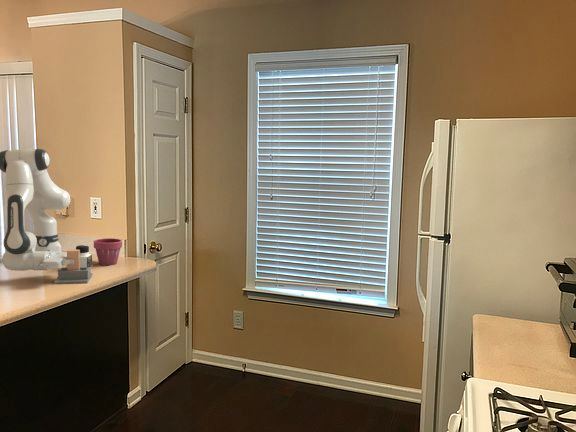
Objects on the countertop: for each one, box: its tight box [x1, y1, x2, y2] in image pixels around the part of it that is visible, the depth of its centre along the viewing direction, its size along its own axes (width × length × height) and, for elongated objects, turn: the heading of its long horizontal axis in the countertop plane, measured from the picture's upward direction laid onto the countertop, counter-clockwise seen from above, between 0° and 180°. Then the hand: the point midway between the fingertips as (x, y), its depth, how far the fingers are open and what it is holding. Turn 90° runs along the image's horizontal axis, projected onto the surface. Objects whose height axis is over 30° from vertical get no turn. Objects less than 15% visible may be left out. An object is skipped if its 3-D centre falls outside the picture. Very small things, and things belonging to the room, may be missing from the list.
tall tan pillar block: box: [66, 249, 80, 270], centre depth 214 cm, size 3×5×12 cm, turn 104°
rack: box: [53, 266, 93, 285], centre depth 214 cm, size 14×14×5 cm
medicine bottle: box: [75, 244, 93, 268], centre depth 234 cm, size 7×7×12 cm
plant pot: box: [93, 237, 123, 266], centre depth 246 cm, size 14×14×13 cm
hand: (75, 260), depth 214 cm, fingers closed on tall tan pillar block, 3 cm apart
